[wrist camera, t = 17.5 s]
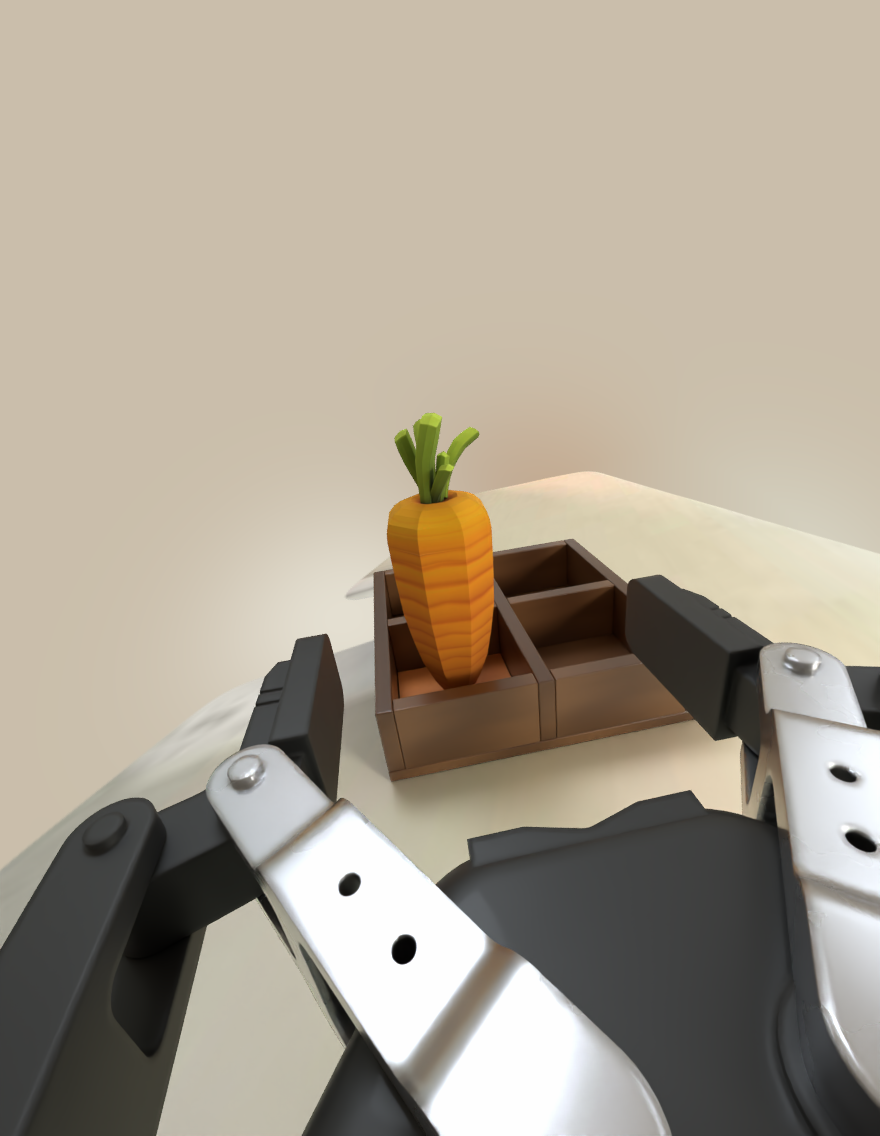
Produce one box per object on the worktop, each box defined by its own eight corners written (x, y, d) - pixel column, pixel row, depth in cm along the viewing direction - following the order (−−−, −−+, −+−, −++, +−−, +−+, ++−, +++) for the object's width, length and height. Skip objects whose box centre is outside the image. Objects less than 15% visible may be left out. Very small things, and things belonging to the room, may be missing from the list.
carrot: (432, 666, 28) (392, 409, 22) (514, 674, 26) (495, 398, 20) (401, 724, 24) (340, 425, 17) (495, 739, 22) (464, 414, 16)
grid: (390, 782, 21) (374, 714, 20) (383, 619, 35) (373, 572, 34) (699, 718, 23) (708, 650, 21) (573, 585, 37) (573, 538, 35)
